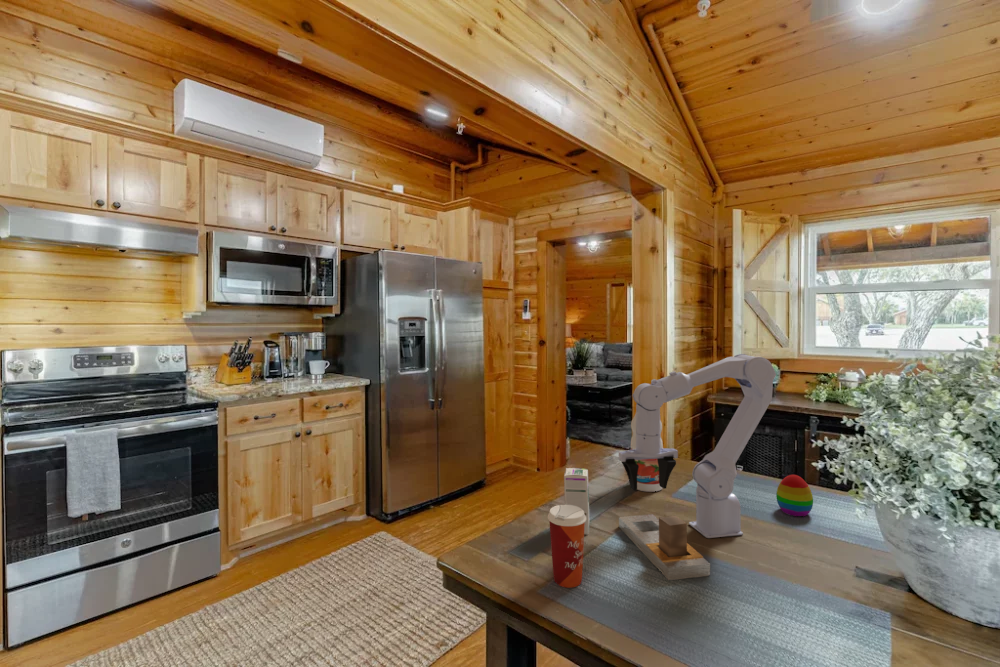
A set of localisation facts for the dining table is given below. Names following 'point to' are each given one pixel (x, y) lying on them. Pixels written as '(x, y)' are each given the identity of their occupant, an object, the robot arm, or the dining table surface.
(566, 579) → the paper cup
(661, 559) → the grey rail
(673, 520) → the walnut peg
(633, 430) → the fruit juice
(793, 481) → the decorative egg
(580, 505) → the syrup box
